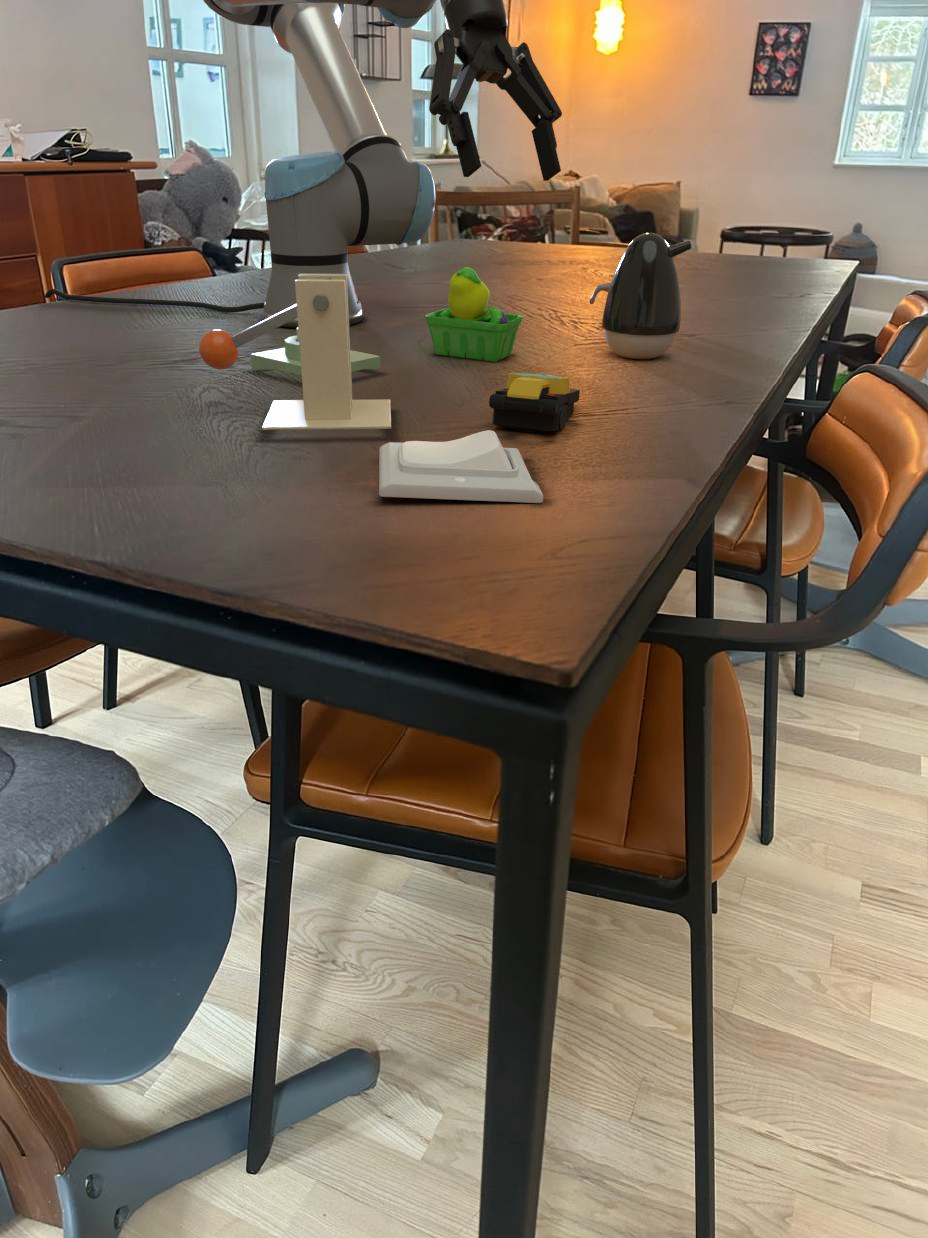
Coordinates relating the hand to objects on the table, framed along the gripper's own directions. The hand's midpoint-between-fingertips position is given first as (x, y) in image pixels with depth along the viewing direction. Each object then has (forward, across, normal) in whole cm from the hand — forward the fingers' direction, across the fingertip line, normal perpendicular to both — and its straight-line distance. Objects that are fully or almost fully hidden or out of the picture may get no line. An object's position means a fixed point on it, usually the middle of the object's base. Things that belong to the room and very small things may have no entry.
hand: (513, 174), depth 111 cm
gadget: (+35, -23, -18) cm, 45 cm away
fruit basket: (+20, -6, +9) cm, 23 cm away
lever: (+21, -43, -7) cm, 48 cm away
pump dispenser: (+25, +12, -2) cm, 28 cm away
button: (+16, -28, +11) cm, 34 cm away
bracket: (+29, -39, -6) cm, 49 cm away
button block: (+19, -28, +12) cm, 36 cm away
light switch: (+38, -39, -24) cm, 60 cm away
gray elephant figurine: (+18, +27, +11) cm, 34 cm away
